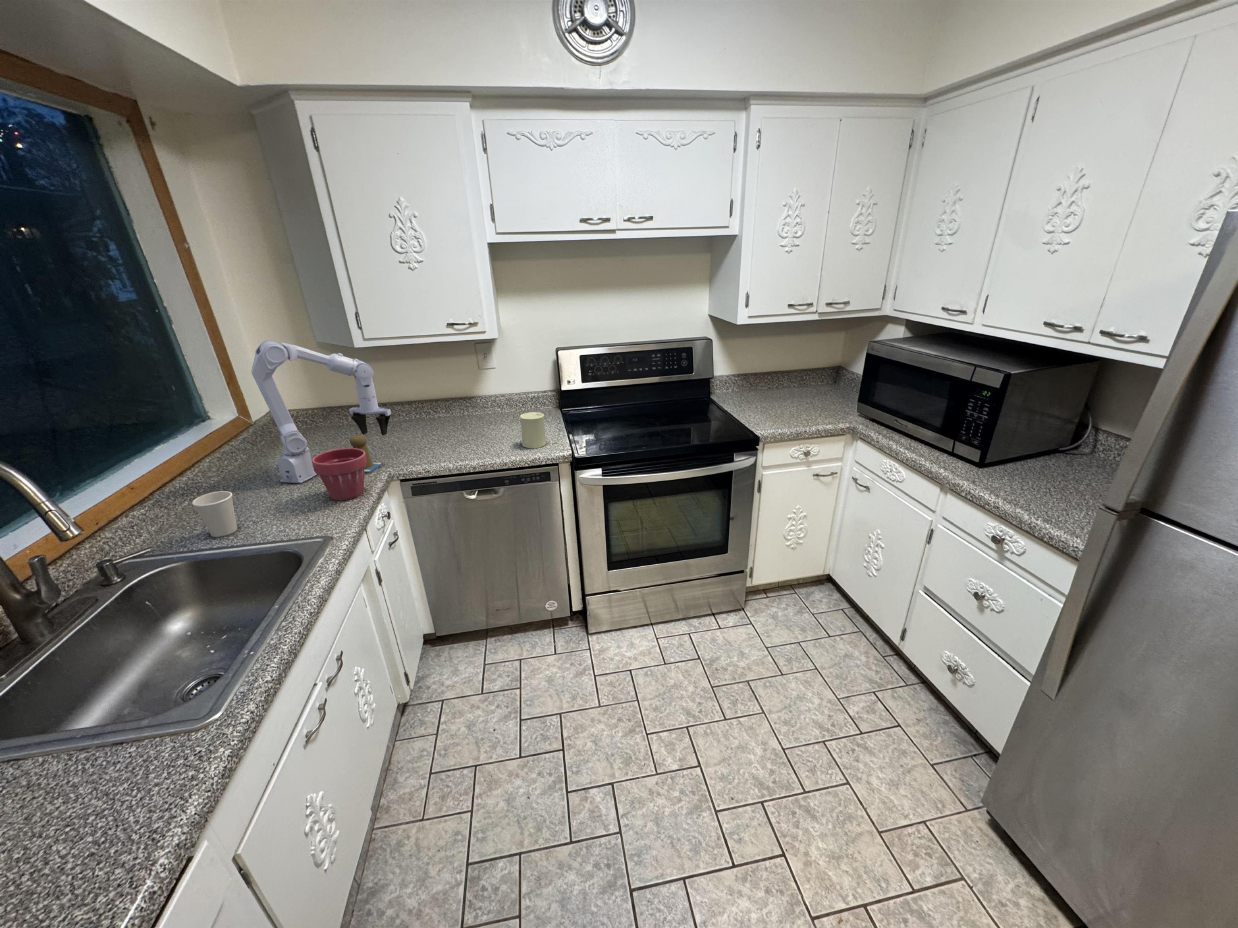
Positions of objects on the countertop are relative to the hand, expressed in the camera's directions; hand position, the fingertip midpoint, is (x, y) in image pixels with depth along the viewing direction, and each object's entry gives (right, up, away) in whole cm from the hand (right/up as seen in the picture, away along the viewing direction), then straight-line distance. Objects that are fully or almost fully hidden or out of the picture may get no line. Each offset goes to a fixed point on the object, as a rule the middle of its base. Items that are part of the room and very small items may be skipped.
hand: (374, 434), depth 179 cm
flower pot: (+3, -20, -24) cm, 31 cm away
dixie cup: (-19, -29, -45) cm, 56 cm away
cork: (-1, -12, -5) cm, 13 cm away
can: (+54, -3, +16) cm, 57 cm away
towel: (-1, -12, -5) cm, 13 cm away
